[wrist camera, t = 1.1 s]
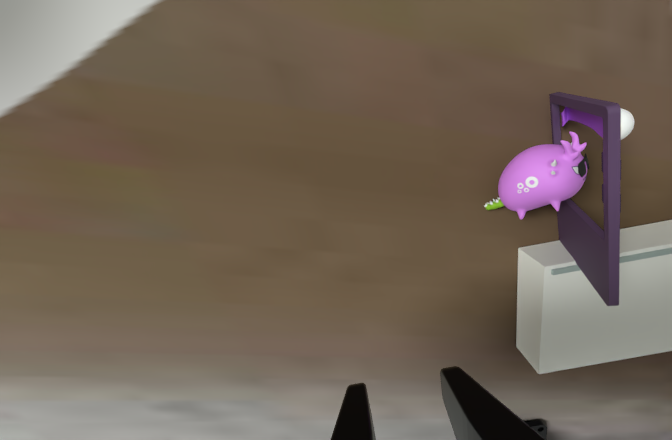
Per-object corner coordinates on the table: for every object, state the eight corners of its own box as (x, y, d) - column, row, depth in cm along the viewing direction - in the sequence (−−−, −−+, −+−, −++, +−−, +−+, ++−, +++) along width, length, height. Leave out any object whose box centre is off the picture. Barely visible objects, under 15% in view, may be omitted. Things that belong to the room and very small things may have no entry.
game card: (640, 307, 14) (647, 97, 11) (508, 313, 16) (483, 137, 13) (579, 236, 20) (573, 87, 17) (488, 247, 22) (467, 115, 19)
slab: (654, 322, 23) (696, 348, 20) (516, 346, 23) (540, 376, 20) (675, 219, 20) (727, 235, 17) (518, 247, 20) (546, 268, 17)
